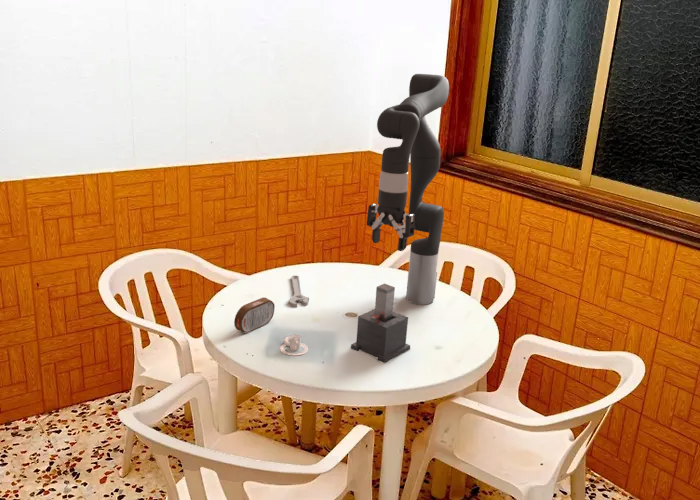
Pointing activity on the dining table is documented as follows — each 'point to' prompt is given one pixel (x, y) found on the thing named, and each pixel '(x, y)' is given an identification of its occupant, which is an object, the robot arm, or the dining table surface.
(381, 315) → the column
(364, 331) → the housing
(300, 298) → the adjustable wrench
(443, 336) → the dining table surface
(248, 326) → the tin
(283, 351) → the teacup and saucer
